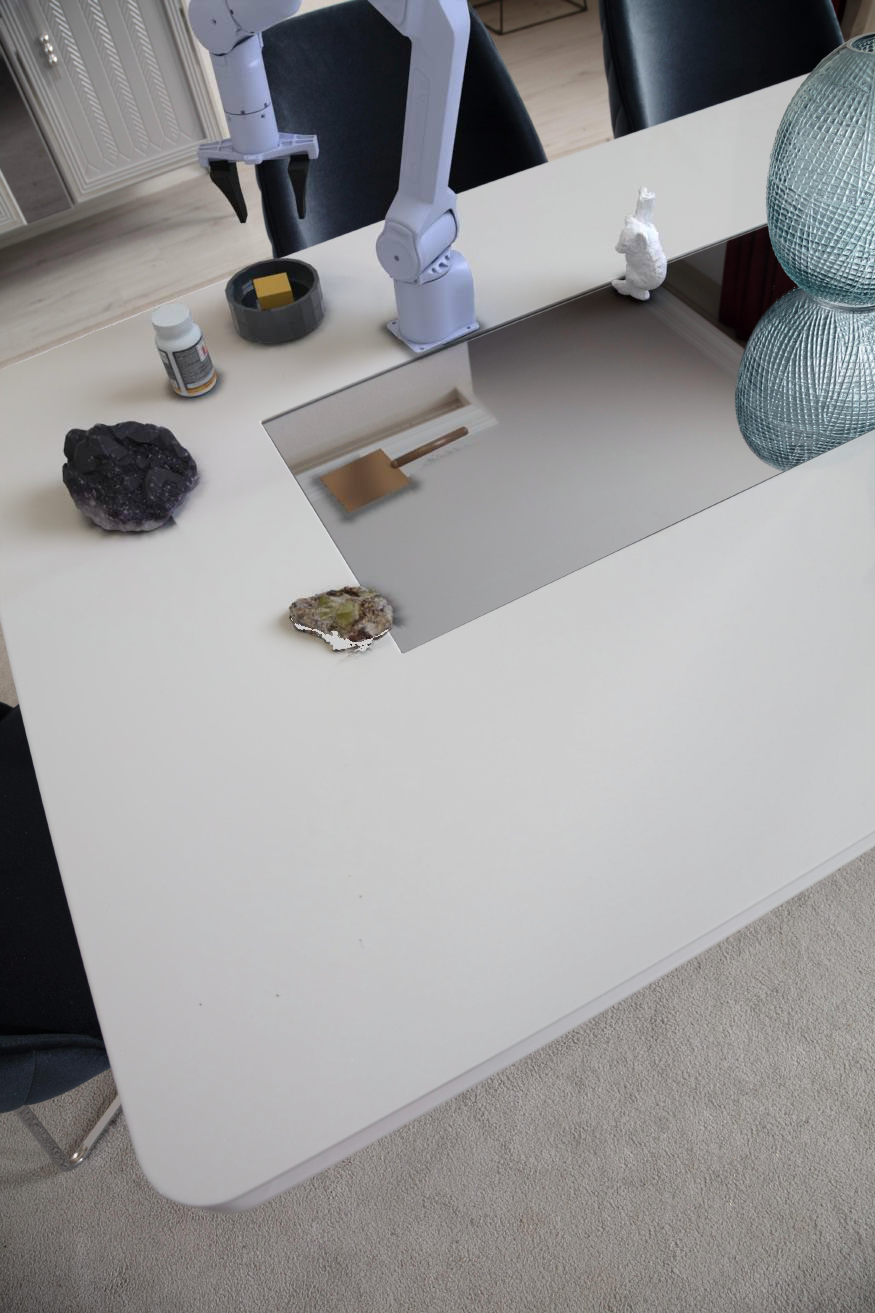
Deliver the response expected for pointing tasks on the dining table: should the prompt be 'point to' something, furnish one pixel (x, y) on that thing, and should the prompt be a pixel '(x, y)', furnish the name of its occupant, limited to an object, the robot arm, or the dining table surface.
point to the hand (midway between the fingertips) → (273, 217)
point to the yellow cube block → (273, 291)
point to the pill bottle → (183, 350)
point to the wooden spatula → (377, 473)
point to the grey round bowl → (281, 319)
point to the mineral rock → (344, 613)
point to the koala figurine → (641, 251)
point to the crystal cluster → (127, 474)
